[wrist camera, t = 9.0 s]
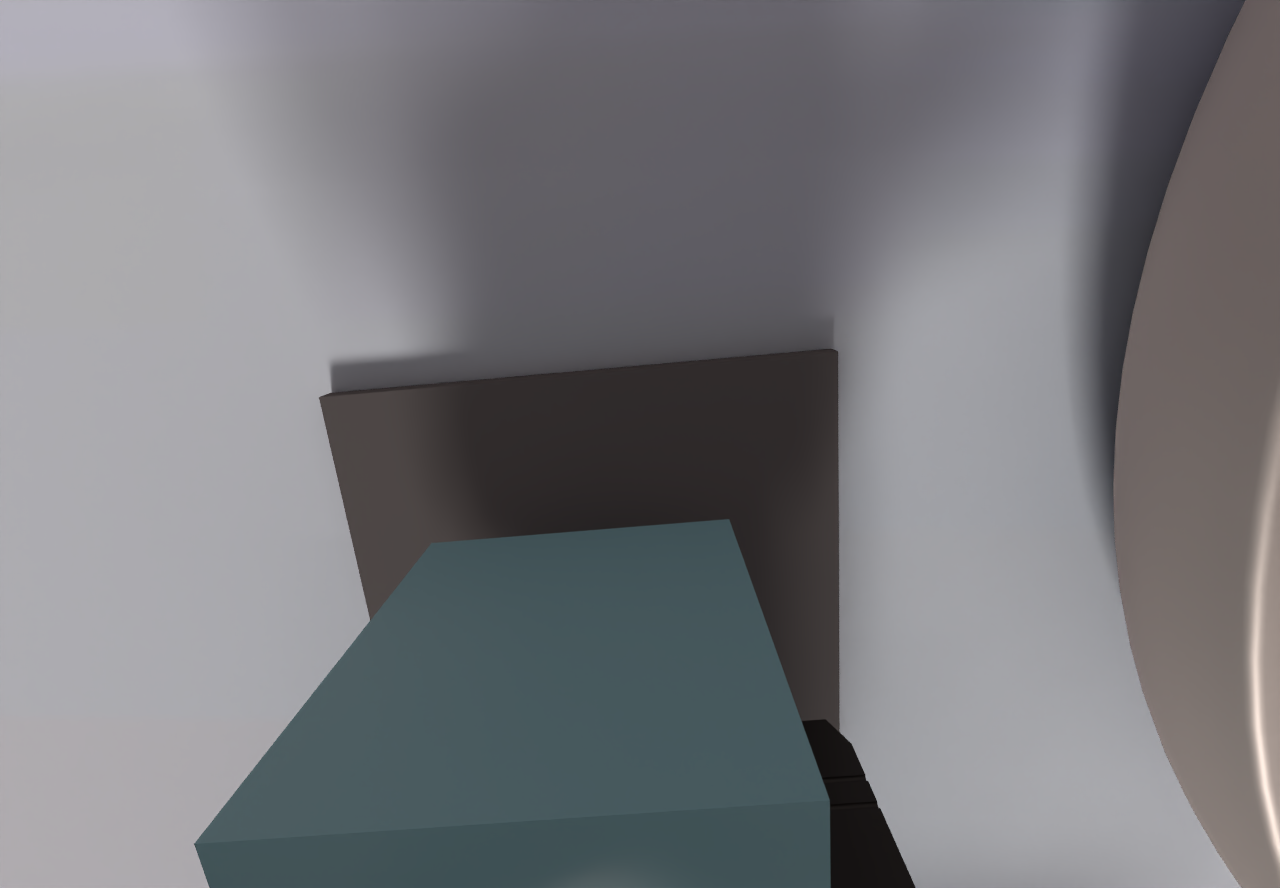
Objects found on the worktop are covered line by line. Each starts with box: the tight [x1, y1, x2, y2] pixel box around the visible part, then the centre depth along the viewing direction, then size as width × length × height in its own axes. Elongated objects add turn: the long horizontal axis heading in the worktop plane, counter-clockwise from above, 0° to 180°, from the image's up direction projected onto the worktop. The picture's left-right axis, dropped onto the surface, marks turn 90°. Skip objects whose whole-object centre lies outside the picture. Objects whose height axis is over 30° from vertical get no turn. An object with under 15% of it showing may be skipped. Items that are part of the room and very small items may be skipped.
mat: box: [319, 349, 839, 731], centre depth 13 cm, size 9×18×1 cm, turn 5°
